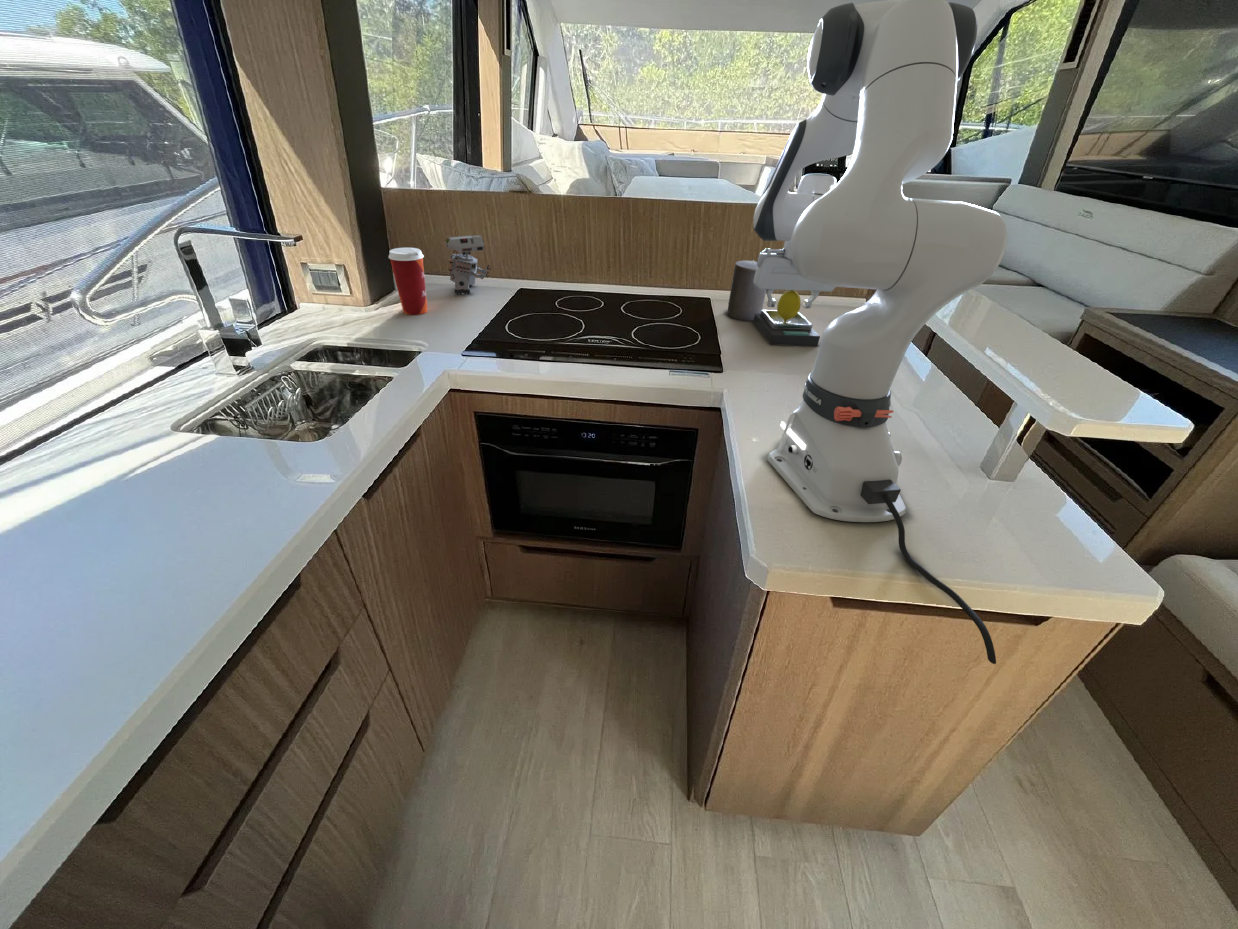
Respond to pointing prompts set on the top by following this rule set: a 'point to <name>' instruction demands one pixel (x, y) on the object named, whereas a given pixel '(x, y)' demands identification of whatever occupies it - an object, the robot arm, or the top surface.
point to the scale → (786, 335)
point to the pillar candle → (745, 292)
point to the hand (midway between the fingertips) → (788, 307)
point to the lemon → (789, 305)
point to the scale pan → (779, 324)
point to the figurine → (465, 262)
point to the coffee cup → (409, 279)
